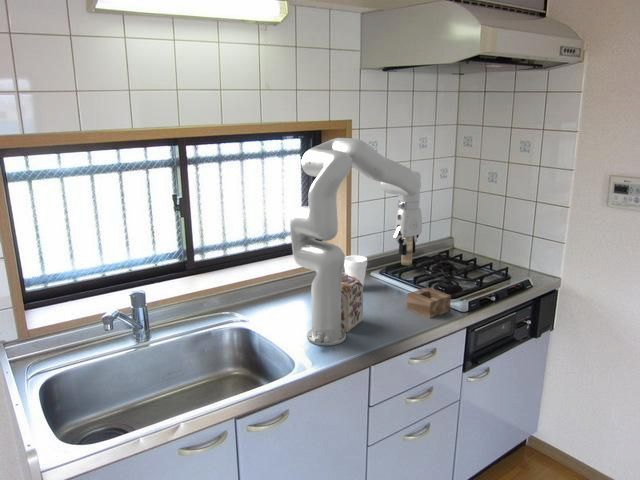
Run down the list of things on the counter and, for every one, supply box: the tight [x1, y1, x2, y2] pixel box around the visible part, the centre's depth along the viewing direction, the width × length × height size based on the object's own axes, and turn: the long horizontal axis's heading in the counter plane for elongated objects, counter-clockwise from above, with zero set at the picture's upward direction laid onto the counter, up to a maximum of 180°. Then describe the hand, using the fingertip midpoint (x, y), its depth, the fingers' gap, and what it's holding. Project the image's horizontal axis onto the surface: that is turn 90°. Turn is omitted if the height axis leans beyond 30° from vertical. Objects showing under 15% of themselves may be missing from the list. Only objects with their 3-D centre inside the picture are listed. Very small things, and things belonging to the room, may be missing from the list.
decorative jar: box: [341, 271, 364, 333], centre depth 177 cm, size 12×12×18 cm
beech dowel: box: [400, 236, 413, 266], centre depth 194 cm, size 4×4×12 cm
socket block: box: [406, 286, 452, 319], centre depth 190 cm, size 11×11×6 cm
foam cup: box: [343, 254, 368, 287], centre depth 210 cm, size 10×9×13 cm
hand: (407, 252), depth 194 cm, fingers closed on beech dowel, 4 cm apart
